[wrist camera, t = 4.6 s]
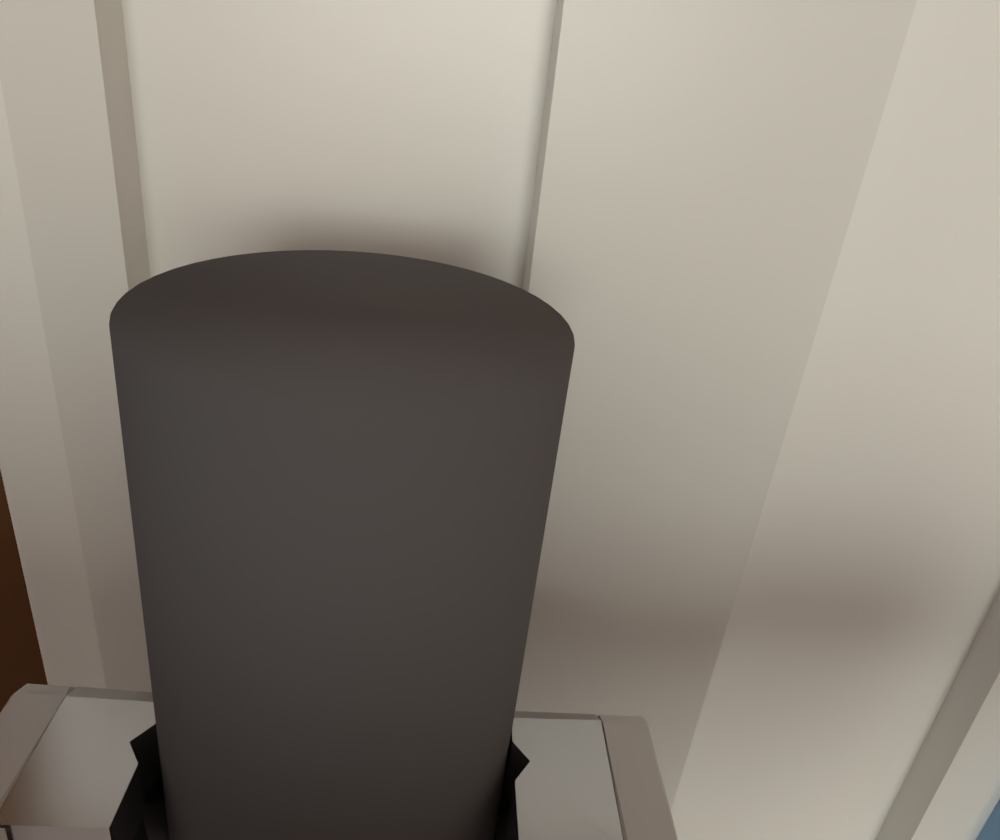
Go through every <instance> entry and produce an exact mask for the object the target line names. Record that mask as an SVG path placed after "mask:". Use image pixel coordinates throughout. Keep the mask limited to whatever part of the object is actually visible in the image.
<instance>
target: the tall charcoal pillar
mask: <svg viewBox="0 0 1000 840" xmlns="http://www.w3.org/2000/svg"><path fill="white" fill-rule="evenodd" d="M109 329H110V338H111V346H112V355H113V363H114V372H115V381H116V389H117V398H118V406H119V415H120V423H121V432H122V440H123V449H124V457H125V466H126V474H127V483H128V491H129V500H130V508H131V517H132V525H133V534H134V542H135V551H136V559H137V568H138V576H139V585H140V593H141V602H142V610H143V619H144V627H145V636H146V644H147V653H148V662H149V670H150V679H151V687H152V696H153V704H154V713H155V721H156V730H157V738H158V747H159V755H160V764H161V772H162V781H163V789H164V798H165V806H166V815H167V823H168V832H169V840H494V835H495V829H496V823H497V817H498V811H499V805H500V799H501V794H502V788H503V781H504V774H505V768H506V762H507V756H508V750H509V744H510V738H511V732H512V726H513V720H514V714H515V708H516V702H517V696H518V690H519V684H520V678H521V672H522V666H523V659H524V653H525V647H526V641H527V635H528V629H529V623H530V617H531V611H532V605H533V598H534V592H535V586H536V580H537V574H538V568H539V562H540V556H541V550H542V544H543V537H544V531H545V525H546V519H547V513H548V507H549V501H550V495H551V489H552V483H553V476H554V470H555V464H556V458H557V452H558V446H559V440H560V434H561V428H562V422H563V415H564V409H565V403H566V397H567V391H568V385H569V379H570V373H571V367H572V361H573V354H574V348H575V341H574V334H573V332H572V330H571V328H570V326H569V324H568V323H567V322H566V320H565V319H564V318H563V317H562V315H561V314H560V313H558V312H557V311H556V310H555V309H554V308H553V307H552V306H550V305H549V304H547V303H546V302H544V301H543V300H541V299H540V298H538V297H537V296H535V295H533V294H531V293H529V292H527V291H525V290H523V289H521V288H519V287H517V286H514V285H512V284H510V283H507V282H505V281H502V280H500V279H497V278H494V277H491V276H488V275H485V274H482V273H479V272H475V271H472V270H468V269H465V268H461V267H456V266H452V265H448V264H444V263H439V262H434V261H429V260H423V259H417V258H411V257H404V256H397V255H389V254H380V253H369V252H356V251H336V250H292V251H272V252H259V253H250V254H241V255H233V256H227V257H221V258H215V259H210V260H205V261H201V262H196V263H192V264H189V265H185V266H182V267H178V268H175V269H172V270H169V271H166V272H164V273H161V274H158V275H156V276H154V277H152V278H150V279H148V280H146V281H143V282H141V283H139V284H138V285H137V286H135V287H134V288H132V289H131V290H129V291H128V292H126V293H125V294H124V295H123V296H122V297H121V298H120V299H119V300H118V301H117V303H116V304H115V306H114V308H113V310H112V312H111V314H110V321H109Z"/></svg>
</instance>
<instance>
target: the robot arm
mask: <svg viewBox="0 0 1000 840" xmlns="http://www.w3.org/2000/svg"><path fill="white" fill-rule="evenodd" d="M0 840H169V832H168V823H167V815H166V806H165V798H164V789H163V781H162V772H161V764H160V755H159V747H158V738H157V730H156V721H155V713H154V704H153V696H152V692H142V691H129V690H116V689H103V688H91V687H78V686H77V687H68V686H55V685H42V684H28V683H27V684H26V685H24V686H23V687H22V688H20V689H19V690H18V691H17V692H15V693H14V694H13V695H12V696H11V697H10V699H9V700H8V702H7V703H6V705H5V706H4V708H3V709H2V711H1V712H0ZM494 840H678V838H677V834H676V830H675V826H674V822H673V818H672V814H671V810H670V807H669V803H668V799H667V795H666V791H665V787H664V783H663V779H662V775H661V771H660V768H659V764H658V760H657V756H656V752H655V748H654V744H653V740H652V736H651V732H650V729H649V725H648V723H647V722H646V721H645V719H644V718H643V717H637V716H616V715H598V716H596V715H595V714H578V713H554V712H530V711H515V714H514V720H513V726H512V732H511V738H510V744H509V750H508V756H507V762H506V768H505V774H504V781H503V788H502V794H501V799H500V805H499V811H498V817H497V823H496V829H495V835H494Z"/></svg>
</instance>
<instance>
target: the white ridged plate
mask: <svg viewBox="0 0 1000 840" xmlns="http://www.w3.org/2000/svg"><path fill="white" fill-rule="evenodd" d="M292 250H336V251H356V252H369V253H380V254H389V255H397V256H404V257H411V258H417V259H423V260H429V261H434V262H439V263H444V264H448V265H452V266H456V267H461V268H465V269H468V270H472V271H475V272H479V273H482V274H485V275H488V276H491V277H494V278H497V279H500V280H502V281H505V282H507V283H510V284H512V285H514V286H517V287H519V288H521V289H523V290H525V291H527V292H529V293H531V294H533V295H535V296H537V297H538V298H540V299H541V300H543V301H544V302H546V303H547V304H549V305H550V306H552V307H553V308H554V309H555V310H556V311H557V312H558V313H560V314H561V315H562V317H563V318H564V319H565V320H566V322H567V323H568V324H569V326H570V328H571V330H572V332H573V334H574V341H575V348H574V354H573V361H572V367H571V373H570V379H569V385H568V391H567V397H566V403H565V409H564V415H563V422H562V428H561V434H560V440H559V446H558V452H557V458H556V464H555V470H554V476H553V483H552V489H551V495H550V501H549V507H548V513H547V519H546V525H545V531H544V537H543V544H542V550H541V556H540V562H539V568H538V574H537V580H536V586H535V592H534V598H533V605H532V611H531V617H530V623H529V629H528V635H527V641H526V647H525V653H524V659H523V666H522V672H521V678H520V684H519V690H518V696H517V702H516V708H515V711H530V712H554V713H578V714H595V715H596V716H598V715H616V716H637V717H643V718H644V719H645V721H646V722H647V723H648V725H649V729H650V732H651V736H652V740H653V744H654V748H655V752H656V756H657V760H658V764H659V768H660V771H661V775H662V779H663V783H664V787H665V791H666V795H667V799H668V803H669V807H670V810H671V814H672V818H673V822H674V826H675V830H676V834H677V838H678V840H1000V0H0V470H1V474H2V479H3V483H4V488H5V492H6V497H7V501H8V506H9V510H10V515H11V520H12V524H13V529H14V533H15V538H16V542H17V547H18V551H19V556H20V560H21V565H22V569H23V574H24V579H25V583H26V588H27V592H28V597H29V601H30V606H31V610H32V615H33V619H34V624H35V629H36V633H37V638H38V642H39V647H40V651H41V656H42V660H43V665H44V669H45V674H46V679H47V683H48V685H55V686H68V687H77V686H78V687H91V688H103V689H116V690H129V691H142V692H152V687H151V679H150V670H149V662H148V653H147V644H146V636H145V627H144V619H143V610H142V602H141V593H140V585H139V576H138V568H137V559H136V551H135V542H134V534H133V525H132V517H131V508H130V500H129V491H128V483H127V474H126V466H125V457H124V449H123V440H122V432H121V423H120V415H119V406H118V398H117V389H116V381H115V372H114V363H113V355H112V346H111V338H110V329H109V321H110V314H111V312H112V310H113V308H114V306H115V304H116V303H117V301H118V300H119V299H120V298H121V297H122V296H123V295H124V294H125V293H126V292H128V291H129V290H131V289H132V288H134V287H135V286H137V285H138V284H139V283H141V282H143V281H146V280H148V279H150V278H152V277H154V276H156V275H158V274H161V273H164V272H166V271H169V270H172V269H175V268H178V267H182V266H185V265H189V264H192V263H196V262H201V261H205V260H210V259H215V258H221V257H227V256H233V255H241V254H250V253H259V252H272V251H292Z"/></svg>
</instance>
